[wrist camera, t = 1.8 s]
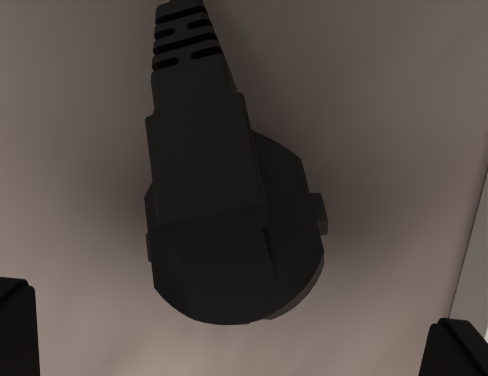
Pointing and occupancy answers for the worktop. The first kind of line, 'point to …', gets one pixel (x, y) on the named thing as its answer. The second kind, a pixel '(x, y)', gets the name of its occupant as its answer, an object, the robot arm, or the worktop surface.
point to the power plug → (221, 188)
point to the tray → (475, 274)
